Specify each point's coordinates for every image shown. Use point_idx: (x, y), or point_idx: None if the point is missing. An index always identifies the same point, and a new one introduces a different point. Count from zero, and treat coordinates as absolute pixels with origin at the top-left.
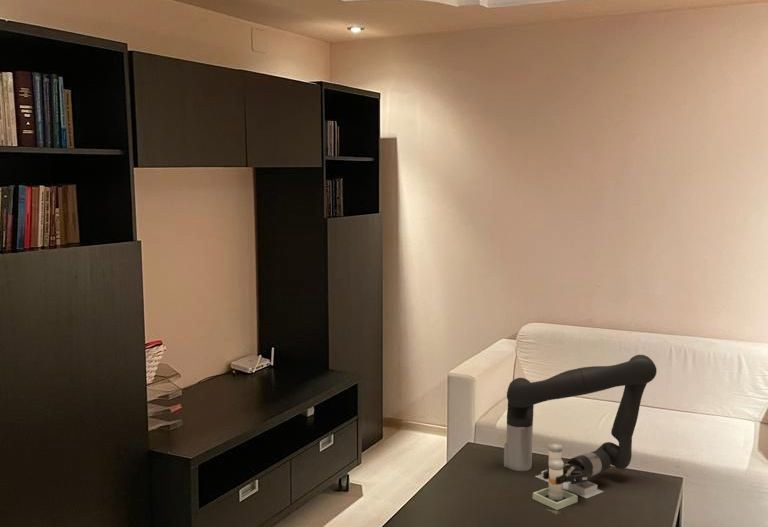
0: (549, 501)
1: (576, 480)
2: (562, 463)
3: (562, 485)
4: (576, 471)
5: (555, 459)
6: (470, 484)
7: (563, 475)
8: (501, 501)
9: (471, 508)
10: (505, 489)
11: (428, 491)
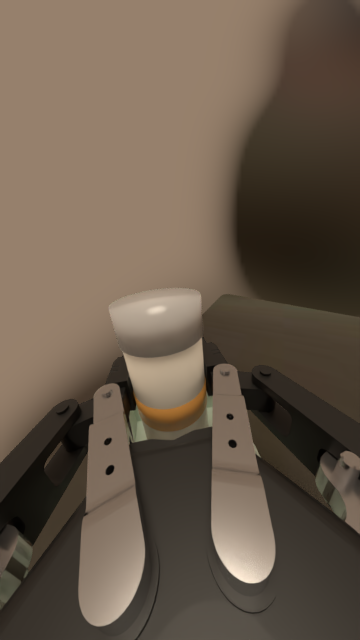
0: None
1: (56, 484)
2: (109, 307)
3: (143, 423)
4: (58, 546)
5: (183, 301)
6: (350, 343)
7: (121, 376)
8: (249, 357)
9: (231, 325)
10: (332, 388)
11: (298, 308)
